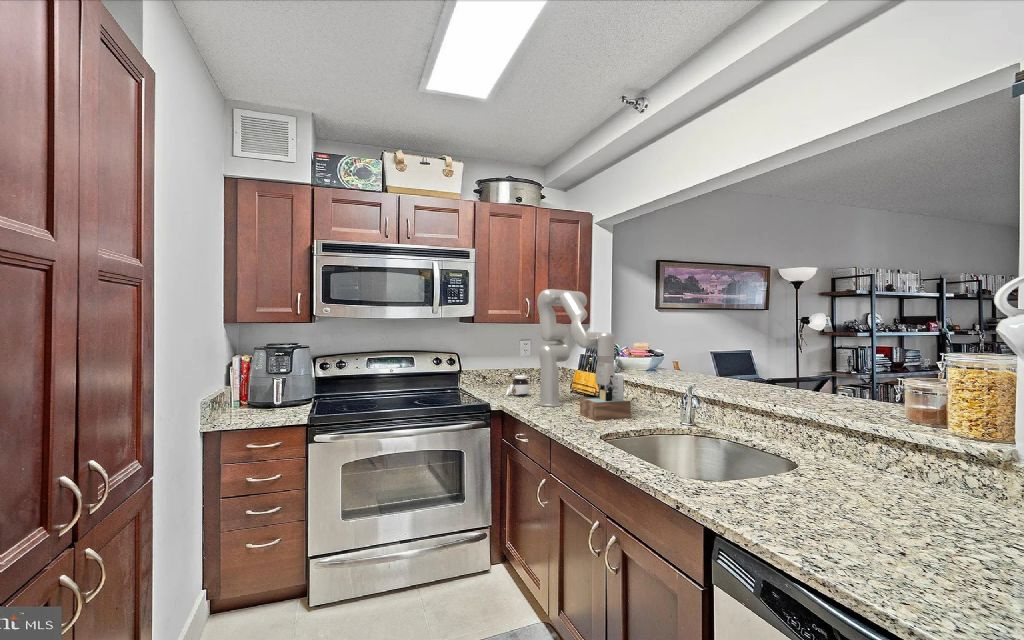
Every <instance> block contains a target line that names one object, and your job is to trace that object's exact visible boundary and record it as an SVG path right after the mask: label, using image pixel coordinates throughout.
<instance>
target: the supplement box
mask: <svg viewBox="0 0 1024 640" xmlns="http://www.w3.org/2000/svg"><path fill="white" fill-rule="evenodd" d="M624 384H625V383H624V373H619V372H618V373H616V372H615V385H616V386H615V387H614V389H613V392H612V396H614V397H615V398H617V399H621V400H624ZM605 389H606V386H605ZM608 389H609V387H608Z"/></svg>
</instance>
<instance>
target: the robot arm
mask: <svg viewBox="0 0 1024 640" xmlns="http://www.w3.org/2000/svg"><path fill="white" fill-rule="evenodd" d="M536 300H537V301H536V302H537V303H536V304H537V311H538V314H539V315H538V316H539V327H540V328H539V330H540V332H539V333H540V338H541V339H542V340H543V341H545V342H555V343H546V344H543V345H542V346H540V348H539V350H538V356H539V364H540V365H539V366H540V393H539V394H540V396H539V399H540V400H539V401H537V405H538V406H540V407H550V408H551V407H552V408H553V407H562V404H563V403H562V402H561V401H560V399H559V398H560V397H559V396H560V369H559V366H558V364H557V363H561V362H566V361H568V360H569V359H570V356H571V341H570V332H571V335H572V337H573V339H574V340H575V342H576V344H577V346H579V347H580V348H581V349H597V360H596V361H597V363H596V367H595V368H596V369H595V376H594V377H595V378H594V379H595V384H596V385H597V389H598V397H599V399H600V390H604V389H605V386H606V391H607V392H606V399H605V400H606V401H612V392H613V389H614V387H615V386H616V385H615V373H616V369H615V335H614V333H610V332H598V331H587V332H586V330H585V329H584V327H583V325H582V322H583V321H585V319H587V317H588V312H587V310H586V309H585V307H586V306H587V303H588V298H587V295H586V293H584V292H582V291H579V290H578V291H576V290H575V291H574V290H566V289H556V288H555V289H554V288H547V289H543V290H542V291H541V292H540V293H539V294H538V297H537V299H536ZM552 306H553V307H555V306H556V307H563V308H564V310H565V312H566V314H567V316H568V317H569V319H570V320H571V324H570V332H569V328H568V327H567V326H566V325H565V324H564V323H559V322H558V323H557V315H556V313H555V310H554V309H553V307H552ZM608 387H609V389H608Z"/></svg>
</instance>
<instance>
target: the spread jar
mask: <svg viewBox="0 0 1024 640" xmlns="http://www.w3.org/2000/svg"><path fill="white" fill-rule="evenodd" d="M506 390H507V391H506V396H508V397H510V395H511V393H512V395H513V396H514V397H517V398H524V397H527V396H528V395H529V392H530V383H529V381H528V379H527V375H521V374H519V375H514V379H513V380H512V383H510V384H509V385H508V387H507V389H506Z"/></svg>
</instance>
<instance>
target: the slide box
mask: <svg viewBox="0 0 1024 640" xmlns="http://www.w3.org/2000/svg"><path fill="white" fill-rule="evenodd" d="M594 398H599V396H596V397H580V398H579V415H580V416H582V417H585V418H587V419H589V420H593V421H595V422H598V421H611V419H614V420H624V419H625V418H628V419H631V413H632V411H631V410H632V409H631V406H632V405H631V404H632V401H631V400H624V401H613V402H594V401H590V400H587V399H594ZM612 398H615V397H614V396H612Z"/></svg>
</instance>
